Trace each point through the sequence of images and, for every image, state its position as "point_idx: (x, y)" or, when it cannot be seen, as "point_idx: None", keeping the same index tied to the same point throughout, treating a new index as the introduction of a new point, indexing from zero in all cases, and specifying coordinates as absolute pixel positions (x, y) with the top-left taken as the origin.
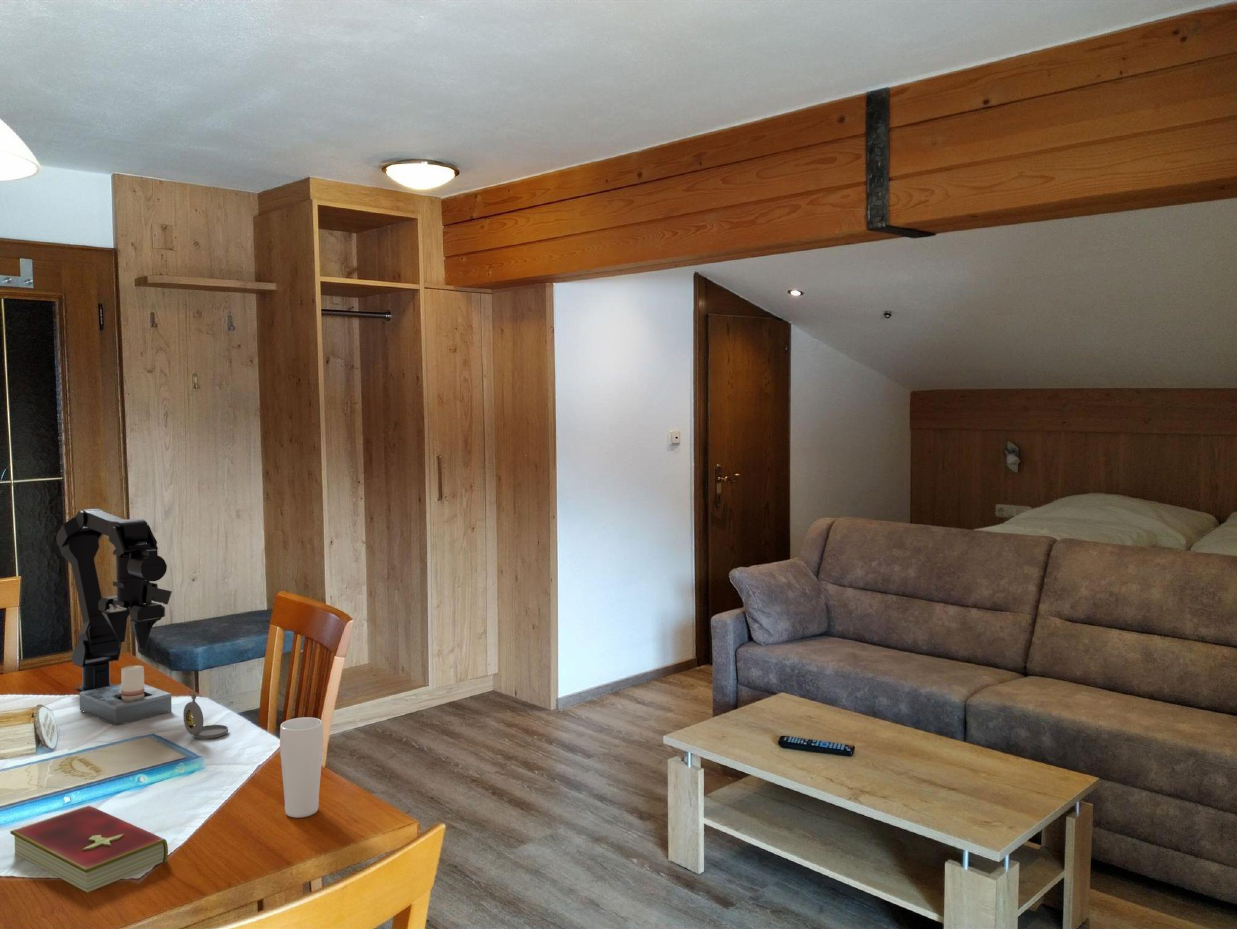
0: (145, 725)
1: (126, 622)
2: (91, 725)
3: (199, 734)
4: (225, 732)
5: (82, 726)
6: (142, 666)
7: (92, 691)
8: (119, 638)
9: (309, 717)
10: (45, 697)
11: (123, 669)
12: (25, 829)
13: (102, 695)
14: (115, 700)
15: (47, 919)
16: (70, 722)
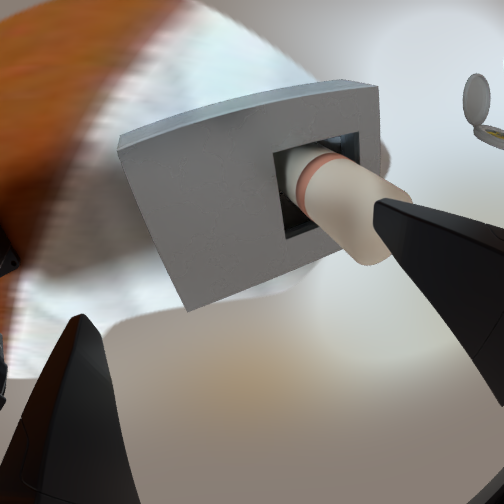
0: (386, 161)
1: (46, 456)
2: None
3: (469, 112)
4: (487, 87)
5: (306, 267)
6: (389, 192)
7: (198, 284)
8: (102, 361)
9: None
10: (31, 338)
11: (374, 258)
12: None
13: (263, 259)
14: None
15: None
16: (263, 288)
